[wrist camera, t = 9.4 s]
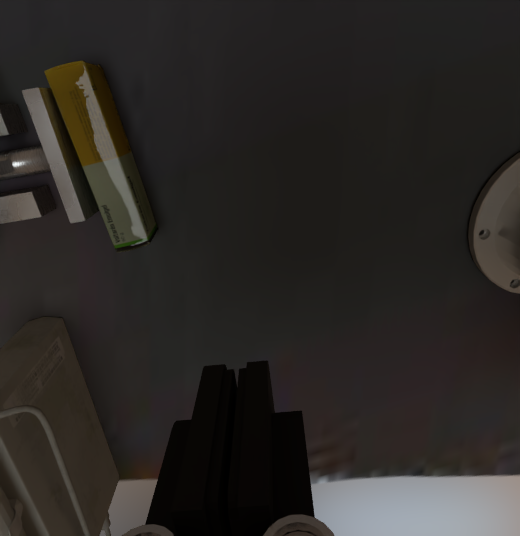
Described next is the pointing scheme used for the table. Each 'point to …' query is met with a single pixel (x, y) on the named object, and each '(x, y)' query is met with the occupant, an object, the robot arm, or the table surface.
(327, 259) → the table surface
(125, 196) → the medication box
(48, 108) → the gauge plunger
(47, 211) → the grey u-shaped bracket
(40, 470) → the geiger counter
